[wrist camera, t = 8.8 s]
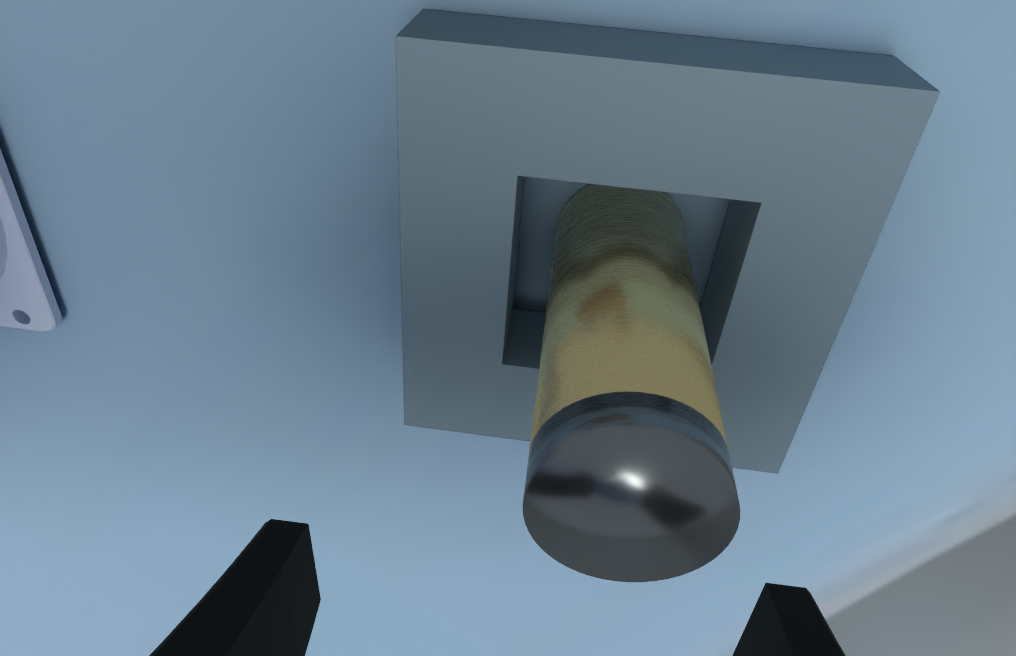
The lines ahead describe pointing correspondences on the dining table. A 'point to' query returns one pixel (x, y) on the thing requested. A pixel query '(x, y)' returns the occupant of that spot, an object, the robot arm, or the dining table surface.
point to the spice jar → (627, 399)
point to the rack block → (649, 166)
